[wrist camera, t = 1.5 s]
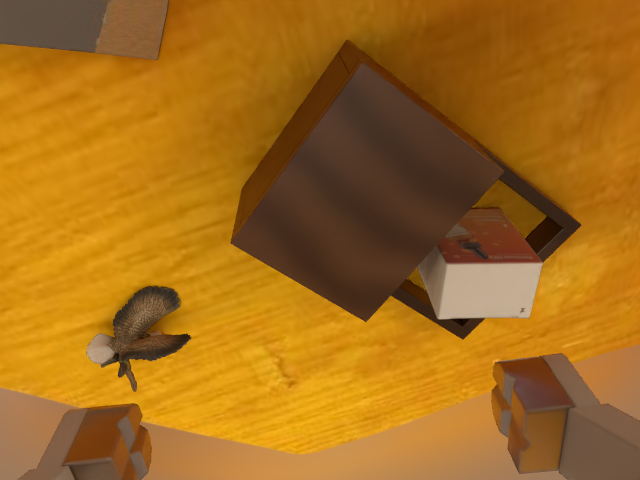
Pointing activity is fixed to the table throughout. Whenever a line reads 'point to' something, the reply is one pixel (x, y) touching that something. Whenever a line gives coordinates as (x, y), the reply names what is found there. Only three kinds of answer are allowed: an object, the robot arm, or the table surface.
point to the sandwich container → (85, 25)
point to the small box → (482, 269)
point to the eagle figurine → (138, 332)
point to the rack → (372, 191)
